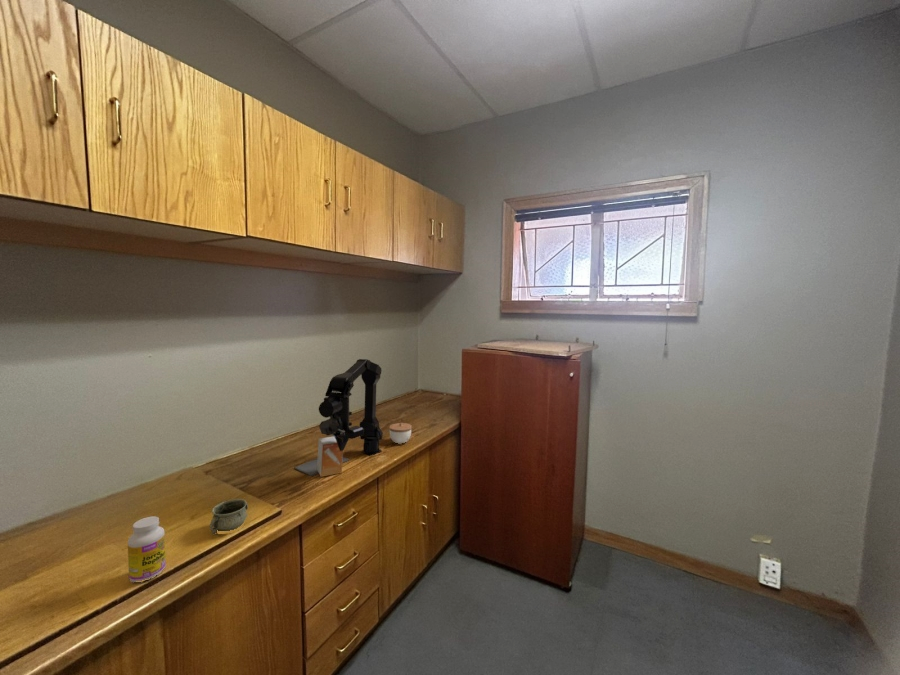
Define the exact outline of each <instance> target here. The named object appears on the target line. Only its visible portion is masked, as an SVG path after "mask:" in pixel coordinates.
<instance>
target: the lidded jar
mask: <svg viewBox="0 0 900 675" xmlns="http://www.w3.org/2000/svg"><path fill="white" fill-rule="evenodd" d="M411 435H412V424H410V423H407V422H406V423H405V422H398V423H397V422H396V423H393V424H390V425H389V436H390V439H391V440H392V442H393V443H394V442H395V443H398V444H397V445H402V444H401V443H405V442H406V443H408V441H409V440H410V438H411ZM395 443H394V444H395ZM406 443H405V444H406Z"/></svg>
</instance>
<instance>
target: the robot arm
mask: <svg viewBox="0 0 900 675" xmlns="http://www.w3.org/2000/svg"><path fill="white" fill-rule="evenodd" d="M381 374H382V367H381V366H380V364H377V363H375V362H372V361H371V360H370V359H366V358H364V359H363V358H359V359H357V360H356V361H355V363H354V364H352V365H351V366H350V367H349V368H348V369H347V370H346V371H345V372H343V373H339V374H336V375H334V376H332V378H331V379H330V381H329V384H328V386H327V388H326V392H325V394H324V396H325V397H324V398H323V401H322V402H321V403H320V404H319V406H318V412H319V414H320V415H321V416H322V417H323V418H328V419H326V420H323V421H321V422H320V423H319V425H318V427H319V430H320V433H321V435H326V436H332V437H333V436H334V437H335V439H336V441H337V444H338V447H339V450H340V451H343V452H344V450H345V448H346V445H347V443H348V442H349V440H350V439H351V440H353V439H356V438H360V440H363V445H362V446H363V450H361V453H362V454H366V455H369V456H374V455H375V454H378V453H380V452H382V449H380V441H381V440H382V438H383V435H384V434H383V430H382V429H381V427H380V422H379V420H378V418H377V416H376V414H377V413H376V412H377V384H378V382H380V379H381ZM359 377H360V378H361V381H363V383H364V415H363V416H364V417H363V419H362V420H361V421H359V426H358V425H354V426H352V424H353V422H351V421H350V416H351V415H352V414H353V413H352V411H350V397H351V396H352V395H353V394H352V392H351V391H352V389H353V388H354V386H355V385H354V384H355V383H354V382H355V381H356V380H357V379H358V378H359Z"/></svg>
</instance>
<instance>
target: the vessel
mask: <svg viewBox="0 0 900 675" xmlns="http://www.w3.org/2000/svg"><path fill="white" fill-rule="evenodd" d="M248 507H249V505H248V502H247V501H246V500H245V499H241V498H234V499H230V500H225V501H223V502H220V503H218V504H217V505H215V506H213V508H212V509H211V510H212V511H211V512H212V514H213V516H212V519H211V521H210V523H209V530H210V531H212V533H211V534H212V535H213V534H214V535H216V534H215V533H217V530H218V531H230V530H234V529H237V528H238V527H240V526H241V525H242V524H243V523H244V522H245V520H246V519H247V517H248V514H247V510H248Z"/></svg>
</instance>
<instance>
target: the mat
mask: <svg viewBox="0 0 900 675" xmlns="http://www.w3.org/2000/svg"><path fill="white" fill-rule="evenodd" d="M317 460H318V457H316V458H315V459H312V460H310V461H307V462H304V463H302V464H300V465H297V466H294V470H297V471H299V472H301V473H304V474H306V475H308V476H310V477H312V476H315V475H317V474H319V472H318V470H317ZM348 461H350V458H347V457H346V456H343V461H342V464H343V463H346V462H348Z"/></svg>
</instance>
